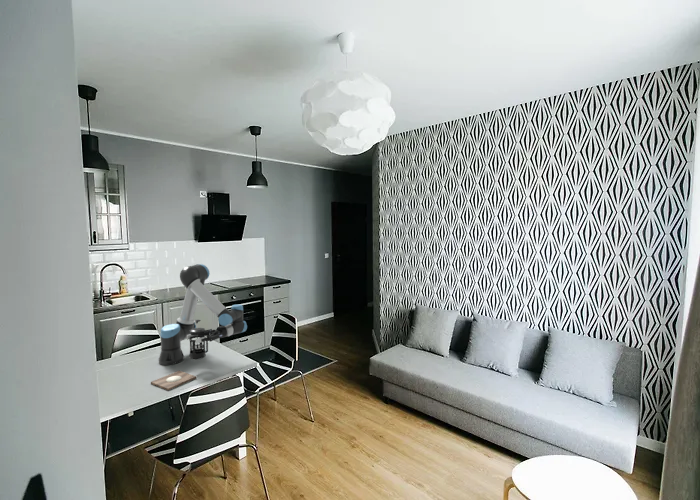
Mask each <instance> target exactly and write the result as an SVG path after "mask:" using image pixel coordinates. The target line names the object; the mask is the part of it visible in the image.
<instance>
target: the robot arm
mask: <svg viewBox="0 0 700 500" xmlns="http://www.w3.org/2000/svg"><path fill="white" fill-rule="evenodd" d="M210 275H211V274H210V269H209V268H208V267H207V265H205V264H203V263H198V264H194V265H193V264H192V265H187V266H185V267H183V268H182V269H181V271H180V273H179V280H180V282H181V284H182V285H183V286H184V288H186V291H185V295H184V299H183V303H182V308H181V312H180V315H179V317H177V318H176V321H175V322H176V323H169V324H166V325H164V326H162V327H161V329H160V334H159V335H160V350H161V351H160V353H159V357H158V364H159V365H162V366H170V365H175V364H176V365H177V364H179V363H181V362H183V361H184V360H185V356H184V352H183V350H182V346H181V345H182V344H181V342H182V341H185V340H187V341H188V340H189V338H190V337H192V336H197V335H191V334H190V332H189V330H191V329H194V328H197V324H196V322H193V321H194V320H195V319H194V317H195V313H196V309H197V305H198V301H199V300H200V301H201V302H202V304H204V305H205V306H206V307H207V308H208V309H209V310H210V311H211V312H212V313H213V314H214V315H215V316H216V317H217V318H218V320H217V321H218V323H219V326H217V328H215V329H213V328H210V329H209V328H208V329H205V330H204V334H201V335H202V336H205V337H202V338H200V337H198V339H197V338H194V340H195V345H196V344H197V343H198V344H200V343H201V342H202V343H203V342H205V343H206V341H208V342H212V341H216V340H217V339H222V338H226V337H230V336H233V335H237V334H241V333H244V332H246V331H247V329H248V325H247V322H246V321H245V320H244V306H243V305H242V304H232V305H231V308H230V310H229V309H228V308H227V307H226V306H225V305H223V303H222V302H221V301H220V300H219V299H218V298H217V297H216V296H215V295H214V294H213V293H212V292H211V291H210V290H209V289H208V288H207V287H206V286H205V282H206V280H208V279H209V278H210Z"/></svg>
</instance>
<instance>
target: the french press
mask: <svg viewBox="0 0 700 500" xmlns="http://www.w3.org/2000/svg"><path fill="white" fill-rule="evenodd" d="M193 322H195V325H198V323H199V322H201V319H194V321H193ZM204 330H206V329H205V328H204V327H196V328H194V329H191V330H189V332H190V334H191V335H197V336H192V337H190V338H189V339H188V340H189V357H188V358H189V359H191V360H201V359H203V358H205V357H206V356H207V354H206V353H208V352H209V341H205V342H201V343H197V344H196V342H195V339H198V338H202V337H206V336H202V335H201V334H204Z"/></svg>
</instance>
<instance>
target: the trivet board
mask: <svg viewBox="0 0 700 500" xmlns="http://www.w3.org/2000/svg"><path fill="white" fill-rule="evenodd" d="M196 379H197V375H193V374H190V373H187V372H185V371H181V370H177V371H175V372H172V373H169V374H168V375H165V376H162V377H159V378H156V379H155V380H151V381H150V384H151V385H152V384H153V386H155V385H156V386H155V387H157V386H158V387H157V388H160V387H161V388H160V389H162V388H163V390H165V389H166V390H165V391H168V390H169V391H171V390H173V389H175V388H177V386H178V387H179V385H180V386H182V385H184V383H185V384H187V383H188V382H191V381H193V380H196ZM174 387H175V388H174ZM172 388H173V389H172ZM170 389H171V390H170Z"/></svg>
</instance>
